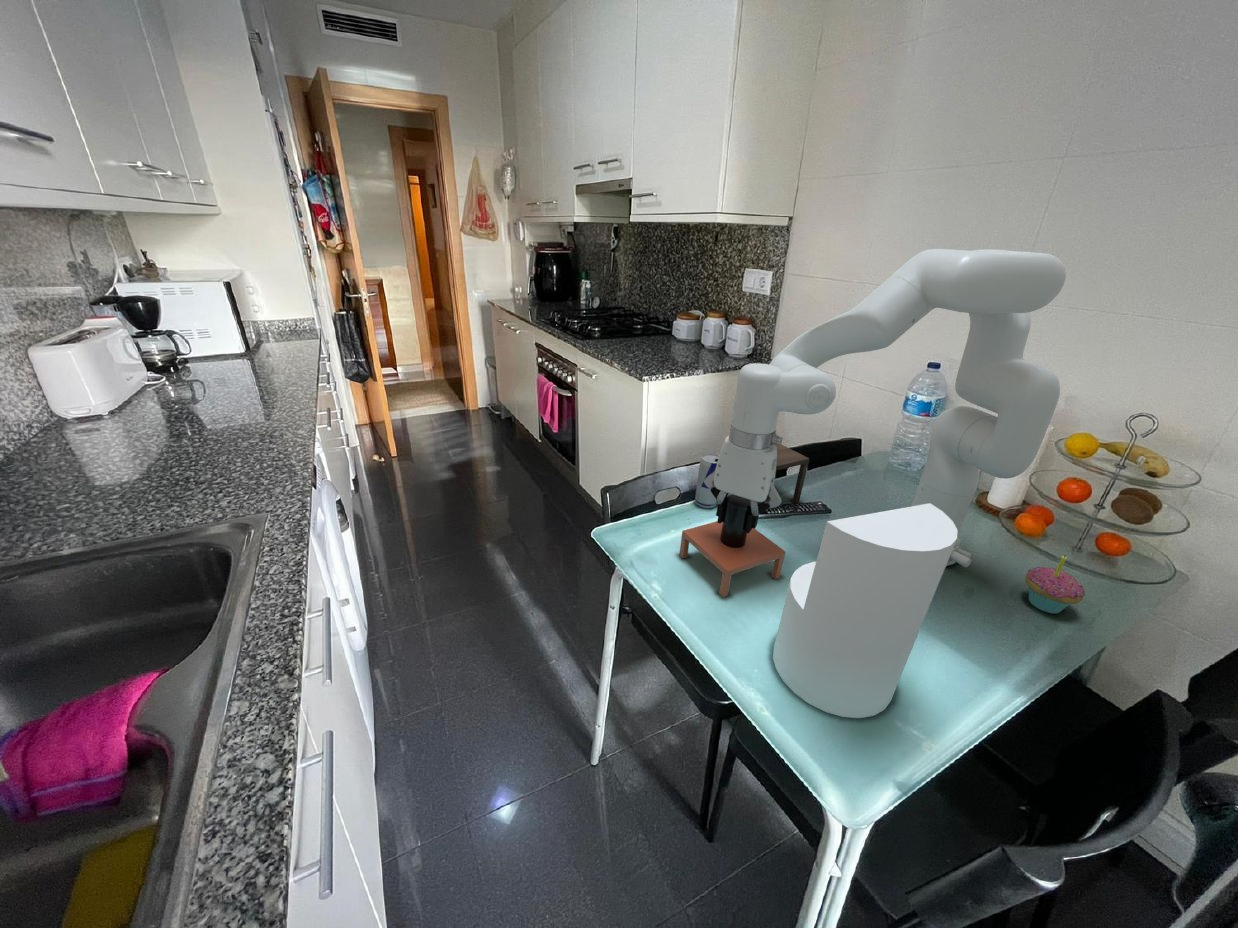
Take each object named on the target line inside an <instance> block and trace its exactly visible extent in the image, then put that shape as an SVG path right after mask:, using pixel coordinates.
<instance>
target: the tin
mask: <svg viewBox="0 0 1238 928" xmlns="http://www.w3.org/2000/svg"><path fill="white" fill-rule="evenodd" d="M750 512H751V502H750V499H746V498H743V497H740V496H737V495H733V494H728V496H727V499H726V506H725V512H724V518H723V524H722V530H721V536H720V541H721V542H722V543H723V544H724V545H726V546H728V547H732V548H740V547H743V546H744V545H745V542H746V537H747V533H746V532H745V529H746V524H747V519H748V515H749V513H750Z"/></svg>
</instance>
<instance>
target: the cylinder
mask: <svg viewBox="0 0 1238 928" xmlns="http://www.w3.org/2000/svg"><path fill="white" fill-rule="evenodd" d="M957 532H958V530H957V528H956V526H955V525H954V523H953V521H952V520H951V519H950V518H949V517H948V516H947V515H946V514H945V513H944V512H943V511H941V510H940V509H938V508H937V507H935V506H934V505H932V504H930V503H929V504H923V505H917V506H912V505H911V506H907V507H906V506H905V507H901V508H895V509H890V510H889V509H888V510H884V511H878V512H872V513H867V514H860V515H856V516H850V517H845V518H838V519H833V520H827V521H826V523H825V527H824V531H823V535H822V539H821V542H820V546H819V550H818V554H817V556H816V560H815V561H810V562H809V563H804V564H802V565H801V566H799V567H798V568H797V569H795V571H794V572H793V573H792V575H791V577H790V580H789V583H788V588H787V592H786V596H785V600H784V603H783V608H782V612H781V616H780V620H779V624H778V629H777V632H776V636H775V640H774V645H773V649H772V650H773V651H772V653H773V654H772V659H773V663H774V666H775V670H776V672H777V673H778V675H779V676H780V678H781V680H782V681H783V683H784V684H785V685H786V686H787V687H788V688H789V689H790V690H791V692H793V693H794V695H796V696H798V697H799V698H800V699H802V701H804V702H806V703H807V704H809V705H811V706H812V707H815V708H817V709H818V710H821V711H823V712H825V713H828V714H832V715H835V716H837V717H841V718H852V719H862V718H863V719H864V718H868V717H869V718H870V717H874V716H876V715H878V714H879V713H881V712H883V711H885V709H887V707H888V706H889V704H890V703H891V702H892V699H893V697H894V694H895V692H896V690H897V687H898V684H899V682H900V680H901V677H902V675H903V672H904V670H905V667H906V665H907V663H908V660H909V657H910V655H911V653H912V650H913V648H914V645H915V643H916V640H917V638H918V635H919V633H920V631H921V628H922V626H923V623H924V622H925V621H924V620H925V619H926V616H927V614H928V611H929V608H930V606H931V604H932V601H933V598H934V596H935V594H936V592H937V589H938V586H939V585H940V582H941V579H942V577H943V574H944V572H945V570H946V567H947V566H946V565H947V562H948V560H949V557H950V555H951V552H952V550H953V547H954V545H955V543H956V540H957V538H958V536H957Z"/></svg>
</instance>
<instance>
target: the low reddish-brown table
mask: <svg viewBox="0 0 1238 928" xmlns="http://www.w3.org/2000/svg"><path fill="white" fill-rule="evenodd" d="M717 521H718V520H716V521H713V522H709V523H705V524H702V525H698V526H694V527H691V528H687V529H683V530H682V531H681V539H680V547H679V557H680V558H681V559H685V558H688V556H689V546H690V545H692V546H693V548H694V549H696V551H698V552H699V553H700V554H701V555H703V556H704V557H705V558H706V559H707V560H708V561H709V562H710V563H711V564H713V565H714V566H715V567H716V568H717V569H718V570H719V571H720V572H721V580H720V586H719V589H718V590H719V591H718V594H719V596H721V597H722V598H725V597H728V596H729V592H730V587H731V586H730V585H731V580H732V575H735V574H737V573H740V572H743V571H746V570H749V569H752V568H755V567H759V566H762V565H764V564H768V563H770V562H773V564H772V569H771V574H770V576H772V578H774V579H778V578H780V577H781V575H782V569H783V566H784V561H785V556H786V552H787V551H786V550H784V549H783V548H782V547H780V546H779V545H778V544H776V543H775V542H774V541H772V540H771V539H769V538H768V537H767V536H766V535H764V534H762V532H760V531H759V530H758V529H756V528H755V529H754V528H752V530H751V531H750V533H747V537H746V542H745V545H744V546H743V547H740V548H732V547H728V546H726V545H724V544H723V543H722V542H721V541H720V536H721V530H722V524H723V522H722V523H717Z"/></svg>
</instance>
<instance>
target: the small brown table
mask: <svg viewBox="0 0 1238 928" xmlns="http://www.w3.org/2000/svg"><path fill="white" fill-rule="evenodd" d="M774 445H775V446H776V447H777V464H776V471H780V470H785V469H788V468H793V467H797V466H799V470H798V473H797V479H796V483H795V487H794V492H793V496H792V502H793V503H795V504H798V503H800V501H801V497H802V496H801V495H802V492H803V487H804V483H805V479H806V474H807V470H808V466H809V462H810V458H809V457H807V456H805V455H803V454H801V453H799V452H797V451H795V450H793V449H791V448H790V447H788V446H785V445H784V444H782V443H781V445H779V444H774ZM767 500H768V501H769V500H770V497H769V495H767V498H766V500H765V501H767ZM765 501H763V502H765ZM763 502H762V503H763ZM767 511H768V510H766V511H764V512H763V513H766V512H767Z"/></svg>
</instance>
